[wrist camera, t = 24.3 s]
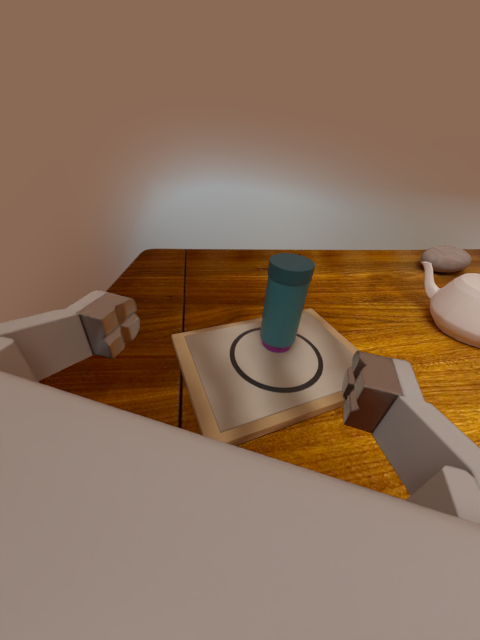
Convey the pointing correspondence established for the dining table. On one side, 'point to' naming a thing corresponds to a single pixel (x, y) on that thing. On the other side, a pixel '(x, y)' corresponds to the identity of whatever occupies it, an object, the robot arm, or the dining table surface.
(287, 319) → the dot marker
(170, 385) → the dining table surface
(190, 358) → the drawing board
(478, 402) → the dining table surface
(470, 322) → the teapot
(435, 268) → the decorative stone
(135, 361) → the dining table surface
